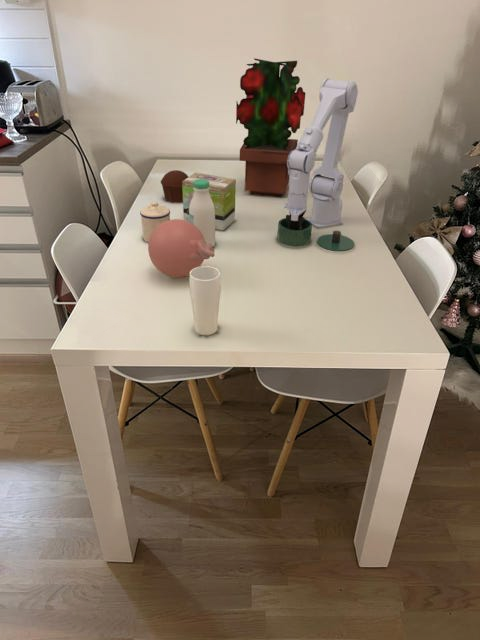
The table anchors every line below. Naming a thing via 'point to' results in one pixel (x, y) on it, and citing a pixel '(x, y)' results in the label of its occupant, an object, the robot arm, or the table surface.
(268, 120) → the potted plant
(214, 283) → the drinking glass
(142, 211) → the teacup with lid
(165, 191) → the muffin
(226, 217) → the tea box
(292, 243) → the pot
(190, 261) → the balloon
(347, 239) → the lid
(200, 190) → the milk bottle
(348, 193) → the table surface
